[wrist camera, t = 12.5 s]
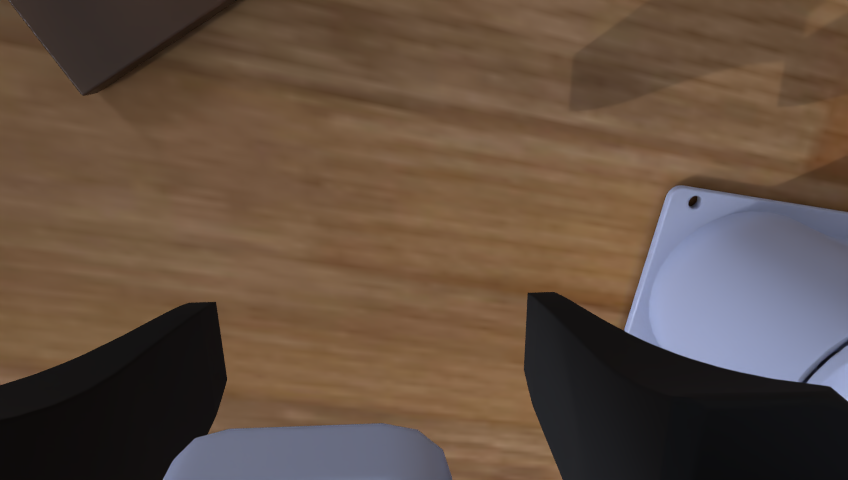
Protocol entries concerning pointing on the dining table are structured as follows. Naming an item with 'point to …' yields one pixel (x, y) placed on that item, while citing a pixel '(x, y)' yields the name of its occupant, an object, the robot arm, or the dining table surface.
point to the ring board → (110, 33)
